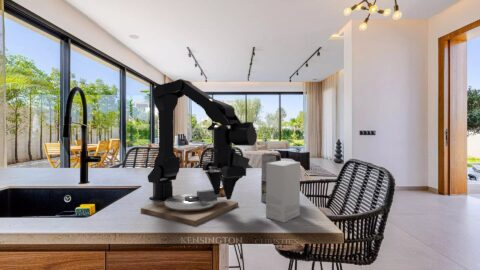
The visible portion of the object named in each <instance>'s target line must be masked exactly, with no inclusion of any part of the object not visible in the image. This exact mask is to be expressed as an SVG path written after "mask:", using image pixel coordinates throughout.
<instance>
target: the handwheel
mask: <svg viewBox="0 0 480 270" xmlns="http://www.w3.org/2000/svg"><path fill="white" fill-rule="evenodd" d="M222 198H226V196H225V192H224V189H223V186H220V192H219V194H218V195H216V194H215V192H214V189H213V188H212V189H202V190H196V193H185V194H178V195H173V196H172V197H169V198H167V199H166V200H165V207H166V208H167V209H170V210H174V211H184V212H190V211H201V210H206V209H210V208H213V207H215V206H216V205H217V199H222Z"/></svg>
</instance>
